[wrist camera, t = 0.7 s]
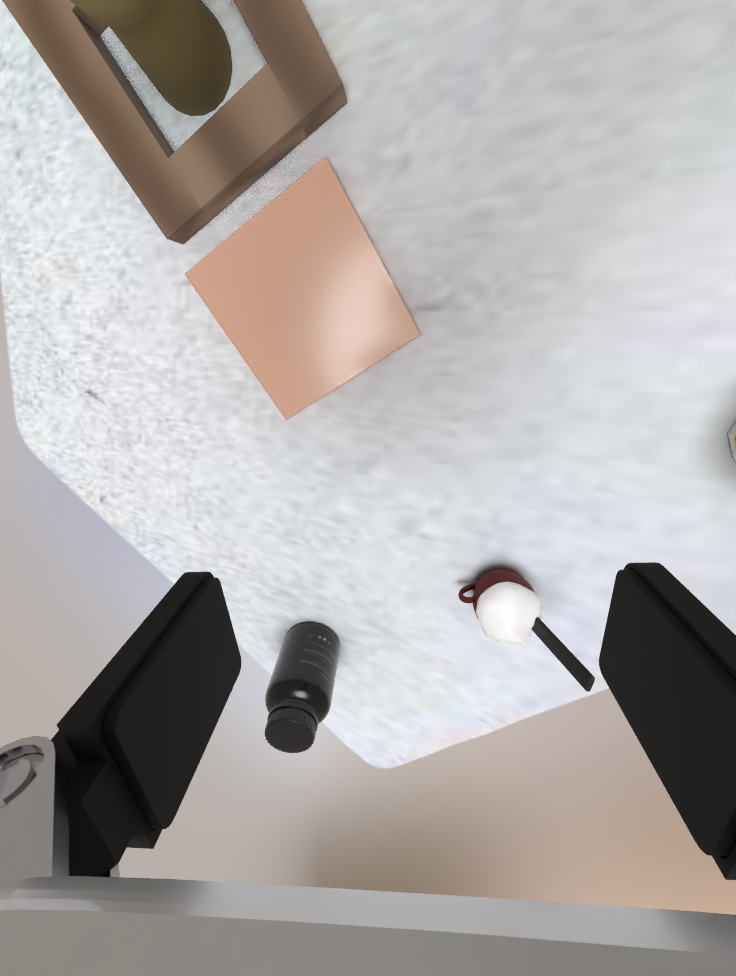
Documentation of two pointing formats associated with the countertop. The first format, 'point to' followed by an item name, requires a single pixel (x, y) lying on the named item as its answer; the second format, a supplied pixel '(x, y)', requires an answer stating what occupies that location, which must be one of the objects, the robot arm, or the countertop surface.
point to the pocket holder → (223, 138)
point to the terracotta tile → (304, 293)
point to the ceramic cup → (733, 440)
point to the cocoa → (518, 617)
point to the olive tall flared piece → (172, 47)
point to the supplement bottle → (301, 687)
